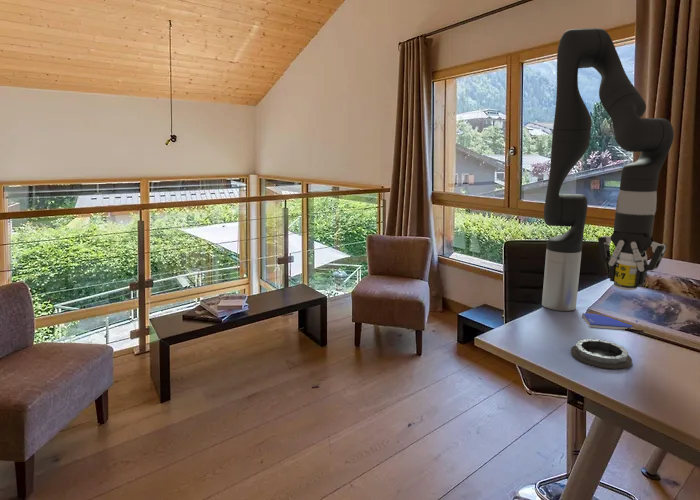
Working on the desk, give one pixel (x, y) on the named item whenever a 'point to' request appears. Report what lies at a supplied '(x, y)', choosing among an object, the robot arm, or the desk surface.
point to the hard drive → (604, 322)
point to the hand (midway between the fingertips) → (625, 283)
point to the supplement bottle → (626, 272)
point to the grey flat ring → (601, 354)
